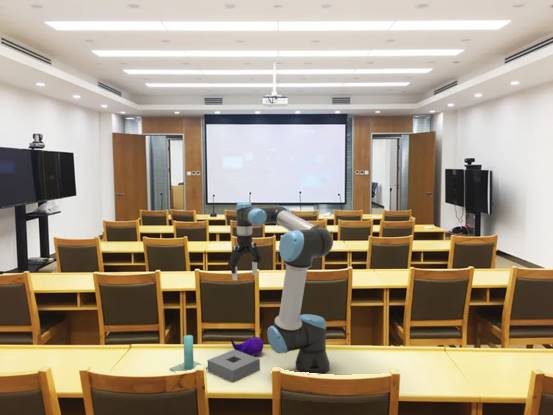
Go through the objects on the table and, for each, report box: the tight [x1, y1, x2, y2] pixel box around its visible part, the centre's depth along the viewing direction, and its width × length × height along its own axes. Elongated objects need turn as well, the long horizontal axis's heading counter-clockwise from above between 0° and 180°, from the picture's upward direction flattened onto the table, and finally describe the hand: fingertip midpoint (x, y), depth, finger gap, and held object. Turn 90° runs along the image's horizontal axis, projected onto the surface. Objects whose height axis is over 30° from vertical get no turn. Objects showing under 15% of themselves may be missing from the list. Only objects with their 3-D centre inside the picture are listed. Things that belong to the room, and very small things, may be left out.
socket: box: [207, 349, 261, 383], centre depth 205 cm, size 16×16×5 cm
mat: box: [169, 360, 208, 372], centre depth 207 cm, size 12×12×1 cm
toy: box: [230, 336, 264, 356], centre depth 222 cm, size 9×10×15 cm
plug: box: [183, 334, 194, 370], centre depth 206 cm, size 4×4×14 cm
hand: (245, 277), depth 230 cm, fingers open, 13 cm apart
